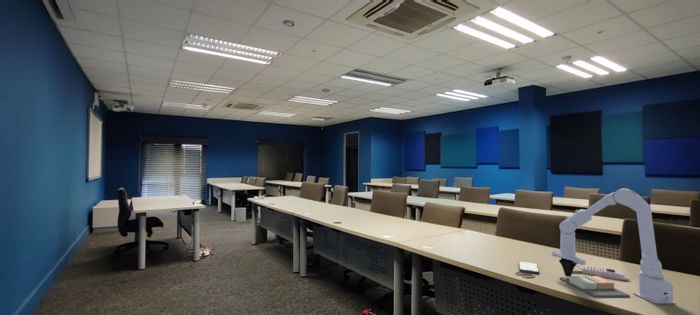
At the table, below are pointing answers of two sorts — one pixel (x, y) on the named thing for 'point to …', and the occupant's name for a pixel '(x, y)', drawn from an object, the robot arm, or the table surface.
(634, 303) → the table surface
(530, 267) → the phone case
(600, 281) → the pink block
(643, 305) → the table surface
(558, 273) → the table surface
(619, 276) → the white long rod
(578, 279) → the pale green rectangular block
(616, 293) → the mat
